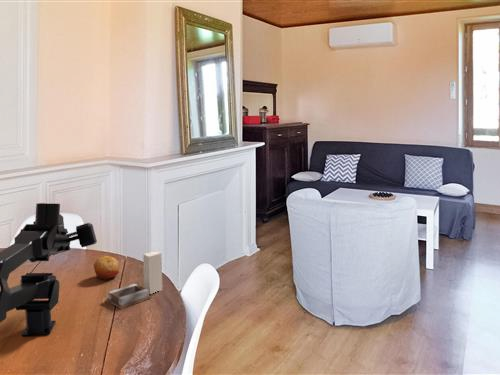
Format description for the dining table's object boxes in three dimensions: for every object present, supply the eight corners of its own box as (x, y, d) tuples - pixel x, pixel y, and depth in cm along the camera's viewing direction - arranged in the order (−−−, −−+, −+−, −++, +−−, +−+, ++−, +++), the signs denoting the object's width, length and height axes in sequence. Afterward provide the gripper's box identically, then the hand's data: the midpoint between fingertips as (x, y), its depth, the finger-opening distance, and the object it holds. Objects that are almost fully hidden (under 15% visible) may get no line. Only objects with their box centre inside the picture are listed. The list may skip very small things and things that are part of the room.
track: (120, 309, 122) (120, 300, 122) (106, 300, 128) (105, 291, 127) (151, 298, 129) (150, 290, 129) (136, 290, 135) (135, 282, 134)
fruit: (107, 265, 152) (113, 249, 148) (119, 281, 148) (125, 265, 145) (85, 272, 146) (91, 255, 142) (97, 289, 142) (104, 272, 138)
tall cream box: (149, 294, 132) (148, 256, 130) (144, 291, 134) (143, 254, 132) (162, 290, 135) (161, 253, 133) (156, 287, 137) (155, 251, 135)
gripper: (77, 203, 118) (95, 208, 134) (8, 223, 117) (34, 226, 132) (87, 243, 117) (104, 243, 133) (18, 264, 116) (43, 261, 131)
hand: (71, 242), depth 132 cm, fingers open, 9 cm apart
